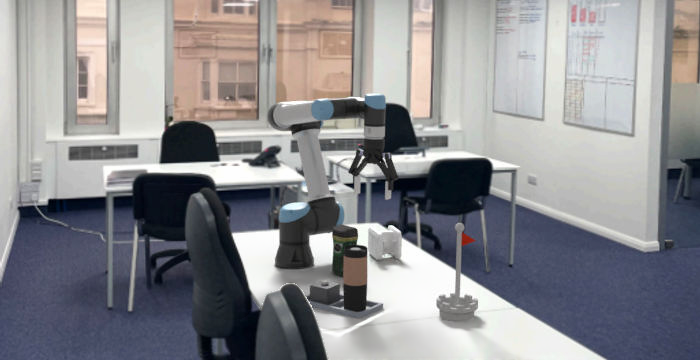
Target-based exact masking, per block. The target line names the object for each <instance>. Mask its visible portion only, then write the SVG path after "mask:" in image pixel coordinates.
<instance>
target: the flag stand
mask: <svg viewBox="0 0 700 360" xmlns="http://www.w3.org/2000/svg"><path fill="white" fill-rule="evenodd" d="M454 230H455V231H456V254H455V256H456V258H455V261H456V262H455V285H454V286H455V287H454V288H455V289H454V292H450V293H449V296H447V295H446V294H444V293H442V294H440V295H438V297H436V308H437V309H438V312H439V314H438V315H439V317H440V318H442V319H444V320H447V321H453V322H467V321H471V320H474V318H475V312H476V311H477V310H478V308H479V299H478V297H473V295H470V294H467V293H466V294H464V296H461V277H462V276H461V275H462V273H461V271H462V247H463V246H465V245H468V244H470V243H473V242H476V239H474V238H472V237H471V236H469V235H467V234H465V233H464V230H465V225H464V224H463V223H462V222H458V223H456V224H455V226H454Z"/></svg>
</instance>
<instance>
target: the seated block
mask: <svg viewBox="0 0 700 360" xmlns="http://www.w3.org/2000/svg"><path fill="white" fill-rule="evenodd" d="M309 294H310V301H313V302H317V303H321V304H325V305H330V304H332V303H335V302H337V301H339V300H340V294H341V283H339V282H338V283H337V282H333V281H329V280H324V279H322V280H320V281H318V282H314V283H312V284H310V285H309Z"/></svg>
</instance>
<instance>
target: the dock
mask: <svg viewBox="0 0 700 360" xmlns="http://www.w3.org/2000/svg"><path fill="white" fill-rule="evenodd" d="M305 296H306V297H307V299H308V301H309V302H310V304H311V305H312V307H311V308H313V309H318V310H322V311H326V312H329V313H334V314H338V315H342V316H347V317H350V318H355V319H359V320H362V319H363V318H365V317H367V316H369V315H372V314H373V313H376V312H379V311H380V310H382V309H384V303H382V302H378V301H375V300H369V299H367V300H366V310H364V311H361V312H355V311H350V310H346V309H344V294H343V293H340V300H339V301H337V302H335V303H332V304H330V305H325V304H321V303H317V302H313V301H310V293H309V294H305Z"/></svg>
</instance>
